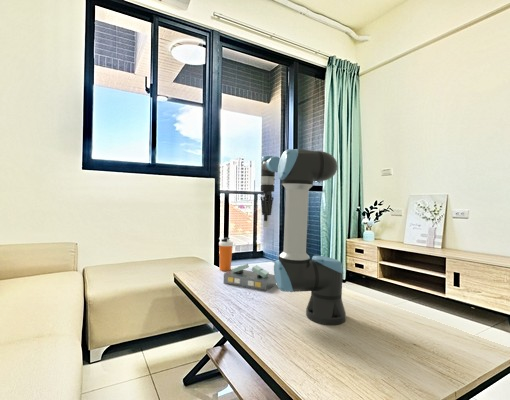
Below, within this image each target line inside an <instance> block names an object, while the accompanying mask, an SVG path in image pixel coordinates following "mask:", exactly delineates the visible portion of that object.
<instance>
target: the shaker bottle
mask: <svg viewBox="0 0 510 400" xmlns="http://www.w3.org/2000/svg"><path fill="white" fill-rule="evenodd" d="M218 246H219V247H218V248H219V249H218V250H219V251H218V252H219V254H218V256H219V270H220V271H222V272H229V271H232V259H233V257H232V256H233V246H234V242H233V241H232V240H231V238H230V237H223V238H221V240H220V241H219V242H218Z"/></svg>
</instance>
